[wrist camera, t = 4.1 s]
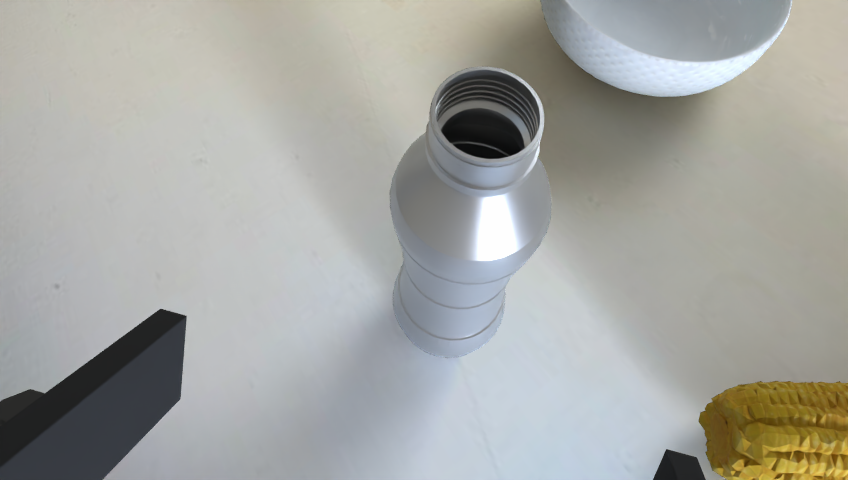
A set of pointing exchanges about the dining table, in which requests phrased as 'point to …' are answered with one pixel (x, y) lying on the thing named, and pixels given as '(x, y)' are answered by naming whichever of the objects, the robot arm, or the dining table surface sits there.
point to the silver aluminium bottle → (468, 209)
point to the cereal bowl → (665, 40)
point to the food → (779, 431)
